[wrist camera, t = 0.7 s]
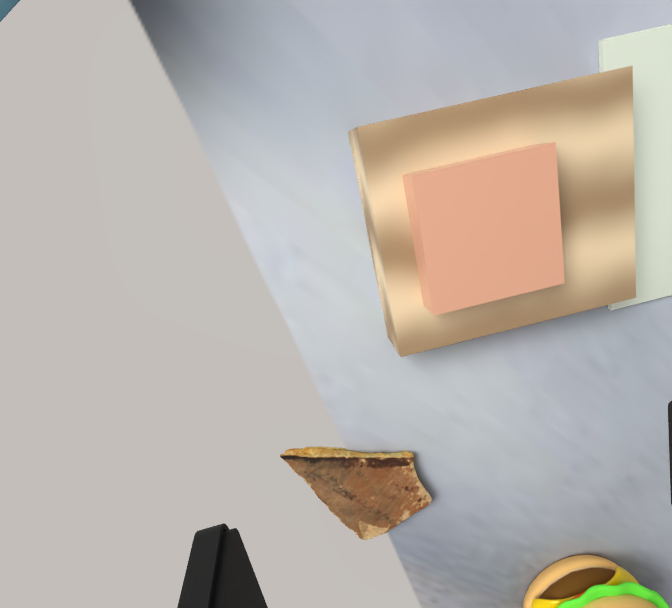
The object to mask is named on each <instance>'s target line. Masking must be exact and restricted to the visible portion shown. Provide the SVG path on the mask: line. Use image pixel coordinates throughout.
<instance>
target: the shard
mask: <svg viewBox="0 0 672 608" xmlns="http://www.w3.org/2000/svg"><path fill="white" fill-rule="evenodd" d="M280 457H281V458H282V459H284V460H285V461H286V462H287V463H288V464H289V465H290V467H291V468H292V469H293V470H294V471H295V472H296V473H297V474H298V475H300V476H301V477H302V478H303V479H304V480H305V481H306V482H307V484H308V485H309V486H310V487H311V488H312V489H313V490H314V491H315V494H316V495H317V496H318V498H320V500H322V502H324V503H325V504H326V505H327V507H328V508H329V510H330V511H331V512H332V513H333V514H334V515H336V516H337V517H338V518H339V519H340V521H341V522H342V523H343V524H345V525H346V526H347V527H348V528H349V529H352V530H353V531H354V532H355V533H356V534H357V535H358V536H359V538H361V539H362V540H367V539H371V538H373V537H376V536H378V535H382V534H384V533H386V532H388V531H389V530H390V529H392V528H394V527H396V526H397V525H398V524H399V523H400V522H403V521H404V520H405V519H407V518H409V517H410V516H412V515H413V514H414V513H416V512H418V511H420V510H422V509H423V508H425V507H426V506H428V505H429V504H430V502H431V500H432V498H431V496H430V495H429V493H428V492H427V491H426V490H425V488H424V487H423V485H422V483H421V482H420V480H419V479H418V477H417V474H416V471H415V468H414V465H413V464H414V455H413V453H412V452H410V451H402V452H397V453H385V454H384V453H381V452H378V453H374V454H372V453H363V452H362V453H361V452H356V451H347V448H337V447H323V446H316V447H305V448H300V449H299V448H294V449H288V450H286V451H285V454H281V455H280Z"/></svg>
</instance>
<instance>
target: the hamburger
mask: <svg viewBox="0 0 672 608" xmlns="http://www.w3.org/2000/svg"><path fill="white" fill-rule="evenodd" d="M523 608H669V606H668V604H667V603H666V602H665V600H664V599H663V598H662V597H661V596H660V595H659V594H658V593H657V592H656V591H653V590H649V589H647V588H646V587H644V586H642V585H640V584H639V582H638V581H637V580H636V579H635V578H634V577H633V576H632V575H631V574H630V573H629V572H628V571H626V570H625V569H624V568H622V567H620V566H618V565H617V564H615V563H614V562H612V561H610V560H608V559H605V558H602V557H599V556H594V555H577V556H571V557H568V558H565V559H562V560H560V561H557V562H555V563H553V564H552V565H550V566H549V567H547V568H546V569H544V570H543V571H542V572H541V573H540V574H539V575H538V576H537V577H536V578H535V579H534V580H533V582H532V583H531V585H530V586H529V588H528V590H527V592H526V594H525V598H524V602H523Z"/></svg>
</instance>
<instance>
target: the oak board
mask: <svg viewBox="0 0 672 608" xmlns="http://www.w3.org/2000/svg"><path fill="white" fill-rule="evenodd" d="M348 133H349V138H350V144H351V149H352V154H353V159H354V164H355V169H356V175H357V180H358V185H359V190H360V195H361V200H362V205H363V211H364V216H365V221H366V226H367V231H368V236H369V241H370V247H371V252H372V257H373V262H374V267H375V272H376V277H377V283H378V288H379V293H380V298H381V303H382V308H383V313H384V319H385V324H386V329H387V334H388V338H389V340H390V341H391V343H392V344H393V346H394V347H395V349H396V351H397V352H398V354H399V355H400V357H403V356H407V355H410V354H414V353H418V352H422V351H426V350H430V349H434V348H438V347H442V346H446V345H450V344H454V343H458V342H462V341H466V340H470V339H474V338H478V337H482V336H486V335H490V334H494V333H498V332H502V331H506V330H510V329H514V328H518V327H522V326H526V325H530V324H534V323H538V322H542V321H546V320H550V319H554V318H558V317H562V316H566V315H570V314H574V313H578V312H582V311H586V310H590V309H594V308H597V307H601V306H605V305H609V304H613V303H617V302H621V301H625V300H629V299H633V298H636V261H635V194H634V127H633V65H632V66H628V67H623V68H619V69H615V70H610V71H606V72H601V73H597V74H592V75H588V76H583V77H579V78H574V79H570V80H565V81H561V82H556V83H552V84H547V85H543V86H539V87H534V88H530V89H525V90H521V91H516V92H512V93H507V94H503V95H498V96H494V97H489V98H485V99H480V100H476V101H472V102H467V103H463V104H458V105H454V106H449V107H445V108H440V109H436V110H431V111H427V112H422V113H418V114H413V115H409V116H404V117H400V118H396V119H391V120H387V121H382V122H378V123H373V124H369V125H364V126H360V127H357V128H355V129H353V130H351V131H349V132H348ZM550 142H556V154H557V170H558V185H559V201H560V216H561V232H562V247H563V263H564V279H565V283H564V284H560V285H556V286H552V287H548V288H544V289H540V290H536V291H532V292H527V293H523V294H519V295H515V296H511V297H507V298H503V299H499V300H495V301H491V302H487V303H483V304H479V305H475V306H471V307H467V308H463V309H459V310H455V311H451V312H447V313H443V314H439V315H435V316H434V315H433V314H432V313H431V312H430V311H429V310H428V309H426V308H425V307H424V305H423V299H422V293H421V287H420V281H419V275H418V269H417V263H416V257H415V251H414V244H413V238H412V232H411V226H410V220H409V214H408V208H407V202H406V196H405V190H404V184H403V178H402V175H403V174H407V173H412V172H416V171H420V170H425V169H429V168H433V167H438V166H442V165H446V164H451V163H455V162H459V161H464V160H468V159H472V158H477V157H481V156H485V155H490V154H494V153H498V152H503V151H507V150H512V149H516V148H520V147H525V146H529V145H533V144H540V143H550Z"/></svg>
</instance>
